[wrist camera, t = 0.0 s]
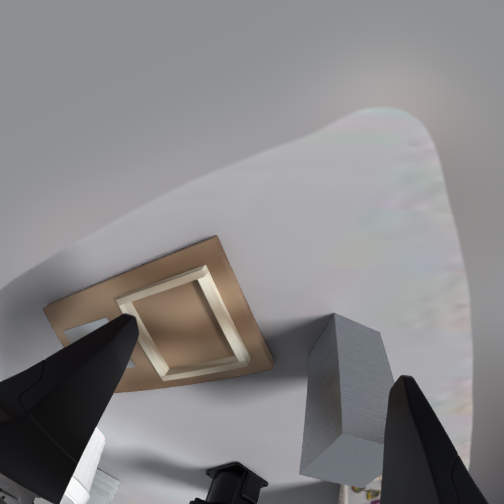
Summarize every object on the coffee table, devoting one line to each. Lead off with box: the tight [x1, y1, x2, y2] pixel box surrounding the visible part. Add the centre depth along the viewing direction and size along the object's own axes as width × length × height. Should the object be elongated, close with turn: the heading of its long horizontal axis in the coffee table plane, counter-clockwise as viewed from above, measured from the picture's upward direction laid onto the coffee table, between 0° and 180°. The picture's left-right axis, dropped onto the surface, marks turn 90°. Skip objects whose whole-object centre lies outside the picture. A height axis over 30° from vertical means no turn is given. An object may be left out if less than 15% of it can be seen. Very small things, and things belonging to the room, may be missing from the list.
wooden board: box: [43, 235, 274, 393], centre depth 29 cm, size 13×24×2 cm, turn 113°
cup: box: [60, 427, 105, 504], centre depth 33 cm, size 12×12×14 cm
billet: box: [299, 313, 394, 488], centre depth 20 cm, size 5×5×13 cm
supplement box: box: [86, 468, 120, 504], centre depth 39 cm, size 7×7×13 cm
